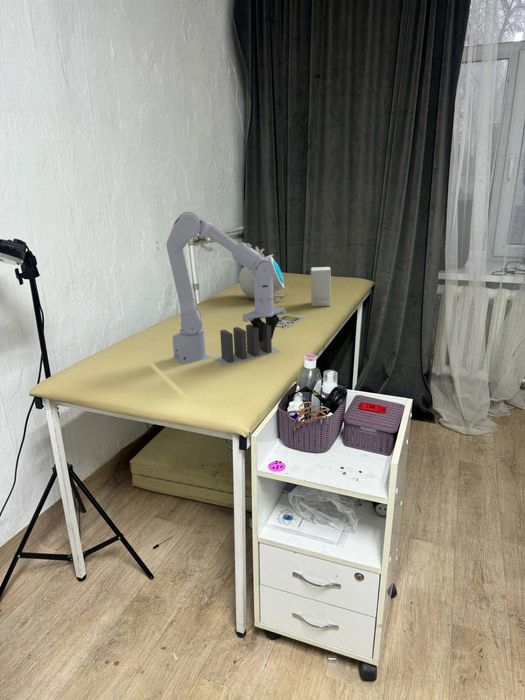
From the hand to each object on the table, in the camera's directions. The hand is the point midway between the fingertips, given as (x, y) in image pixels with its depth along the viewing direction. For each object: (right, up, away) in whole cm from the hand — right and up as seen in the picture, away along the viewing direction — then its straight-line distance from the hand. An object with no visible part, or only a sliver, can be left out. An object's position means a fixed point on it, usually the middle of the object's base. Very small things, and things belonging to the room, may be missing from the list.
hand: (264, 339), depth 152 cm
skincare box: (+24, +16, +53) cm, 60 cm away
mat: (-5, -6, -1) cm, 8 cm away
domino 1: (-11, -6, -5) cm, 14 cm away
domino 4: (0, -4, +1) cm, 4 cm away
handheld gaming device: (+8, +7, +32) cm, 34 cm away
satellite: (0, +19, +64) cm, 67 cm away
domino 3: (-4, -5, -1) cm, 6 cm away
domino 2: (-8, -6, -3) cm, 10 cm away
